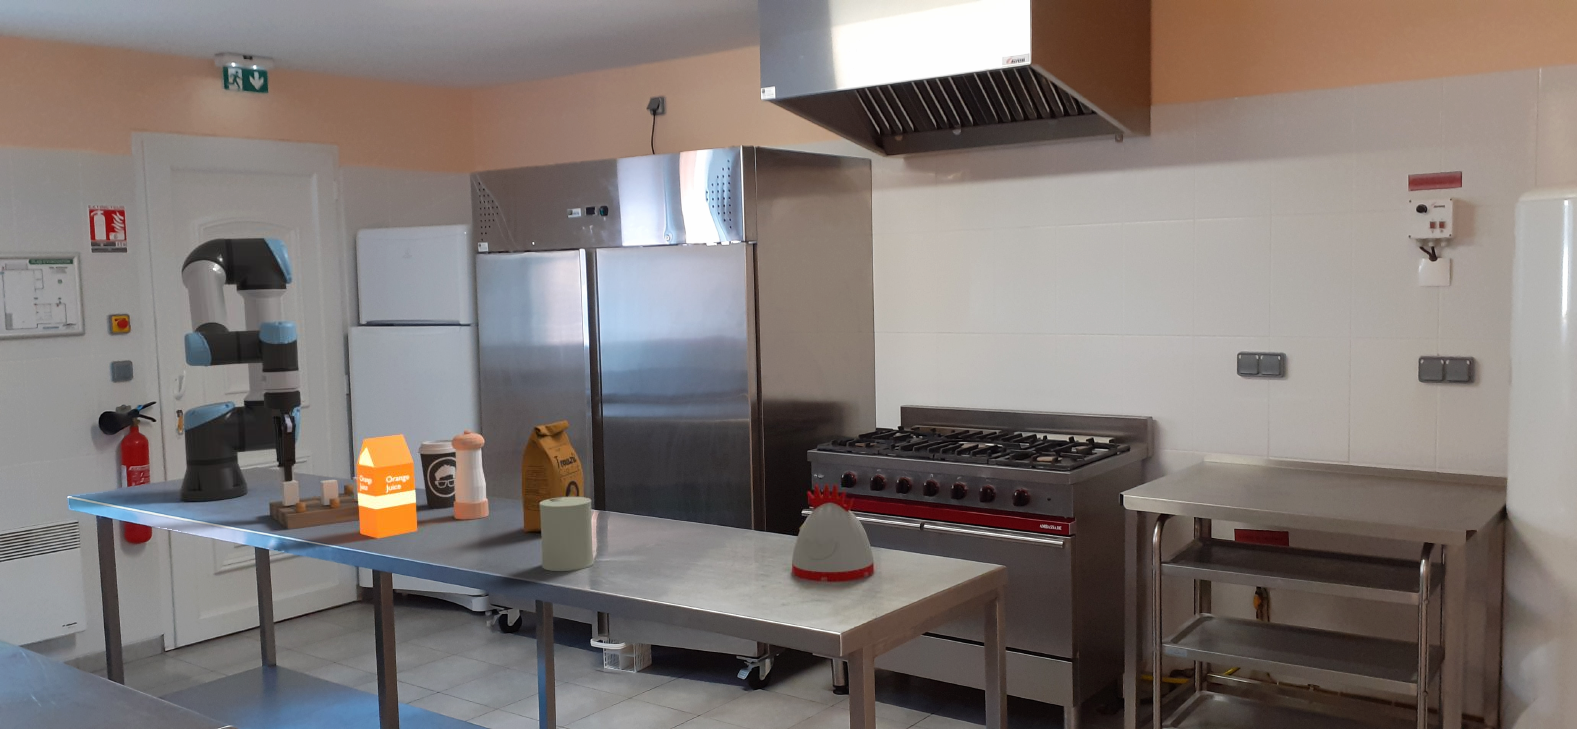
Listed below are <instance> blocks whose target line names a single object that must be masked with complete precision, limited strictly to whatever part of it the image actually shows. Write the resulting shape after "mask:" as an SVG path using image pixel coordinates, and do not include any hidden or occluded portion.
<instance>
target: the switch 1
mask: <svg viewBox="0 0 1577 729" xmlns="http://www.w3.org/2000/svg"><path fill="white" fill-rule="evenodd" d="M299 487H300V486H299V481H297V480H295V479H294V480H293V481H284V482H281V486H280V491H281V490H282V496H281V501H282V504H283V505H285V506H289V505H295V503H300V502H299V499H300V491H299V490H300V488H299Z"/></svg>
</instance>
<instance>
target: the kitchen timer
mask: <svg viewBox="0 0 1577 729" xmlns="http://www.w3.org/2000/svg"><path fill="white" fill-rule="evenodd" d="M846 493H847V492H846V490H844V491H842V493H841V494H840V496H839V491H838V485H837V484H836V483H835V484H833V486H832V491H831V492H830V488H829V483H827V484H826V483H825V485H824V489H823V494H822V493H821V490H820V487H819V485H818V484H815V485H814V495H813V494H812V493H811V491H810V490H809V491H806V494H807V498H808V500H809V502H810V503H811V506H812V508H813V511H812V512H810V514H809V515H808V516H807V517H806V519H804V523H803V524H802V525H801V526H800V527H799V528H798V529H799V533H798V535H797V537H796V538H797V539H796V542H795V545H794V549H793V553H792V562H791V572H792V574H793V576H795V577H796V578H799V579H802V580H805V581H811V582H812V581H814V582H825V583H826V582H829V583H834V582H837V583H838V582H848V581H855V580H860V579H864V578H866V577H869V576H871V575H873V573H874V570H875V568H874V563H875V562H874V554H873V550H872V547H871V544H870V541H869V537H868V535H867V532H866V530H865V528H864V526H863V525H862V523H861V521H860V519H859V518H858V517H857V516H856V515H855V513H854V512H852V511H851V508H852V506H853V503H854V497H852V498H851V499H850V500H849V502H848V503H847V504H845V498H846Z"/></svg>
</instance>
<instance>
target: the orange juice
mask: <svg viewBox="0 0 1577 729" xmlns="http://www.w3.org/2000/svg"><path fill="white" fill-rule="evenodd" d="M359 452H360V453H359V455H358V459H357V462H356V477H357V481H358V504H359V516H360V520H359V530H360V532H359V533H360V534H361V535H365V536H369V537H371V538H375V539H381V538H386V537H391V536H397V535H402V534H407V533H412V532H417V531H418V524H417V523H418V522H417V521H418V520H417V505H416V504H417V499H416V498H417V496H416V485H415V484H416V483H415V467H414V466H415V464H414V461H413V457H412V455H411V452H410V450H409V448H408V444H407V442H406V440H405V437H404V434H396V435H388V436H386V435H385V436H380V437H372V438H364V439H363V443H362V446H361V449H360V451H359Z"/></svg>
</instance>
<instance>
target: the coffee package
mask: <svg viewBox="0 0 1577 729" xmlns="http://www.w3.org/2000/svg"><path fill="white" fill-rule="evenodd" d="M569 428H570V424H569V422H568V421H567V420H566V419H565V420H562V421H557V422H554V423H549V424H544V425H537V426H534V427H533V429H532V431H531V433H530V436H529V438H528V441H527V444H526V445H525V447H524V451H523V453H522V460H521V495H522V496H521V499H522V500H521V502H522V512H523V514H522V515H523V528H524V531H525V532H527V533H533V532H534V533H535V532H536V533H537V532H538V533H539V532H540V533H541V516H540V505H539V503H540V502H541V501H544V500H547V499H552V498H560V497H585V496H584V495H585V494H584V473H583V472H584V471H583V468H582V464H581V461H580V458H579V456H578V454H577V453H576V451H575V449H574V448H573V446H572V445H571V442H570V440H569V437H568V434H567V433H566V430H567V429H569Z"/></svg>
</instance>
